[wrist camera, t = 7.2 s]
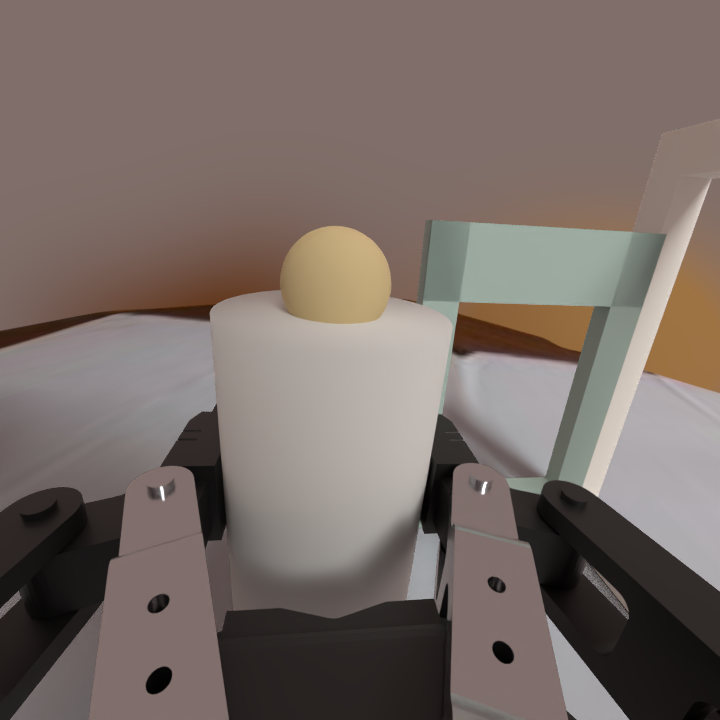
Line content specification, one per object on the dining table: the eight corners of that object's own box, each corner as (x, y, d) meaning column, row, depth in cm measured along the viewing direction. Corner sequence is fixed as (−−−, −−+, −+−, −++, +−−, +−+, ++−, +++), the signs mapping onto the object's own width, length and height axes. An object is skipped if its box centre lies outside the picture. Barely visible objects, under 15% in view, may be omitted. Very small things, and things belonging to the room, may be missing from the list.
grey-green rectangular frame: (548, 494, 29) (626, 232, 22) (570, 520, 26) (667, 234, 19) (389, 500, 27) (418, 220, 20) (396, 529, 25) (432, 220, 18)
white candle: (218, 748, 9) (151, 214, 5) (252, 567, 14) (235, 216, 10) (414, 728, 10) (522, 241, 5) (382, 562, 15) (425, 231, 10)
